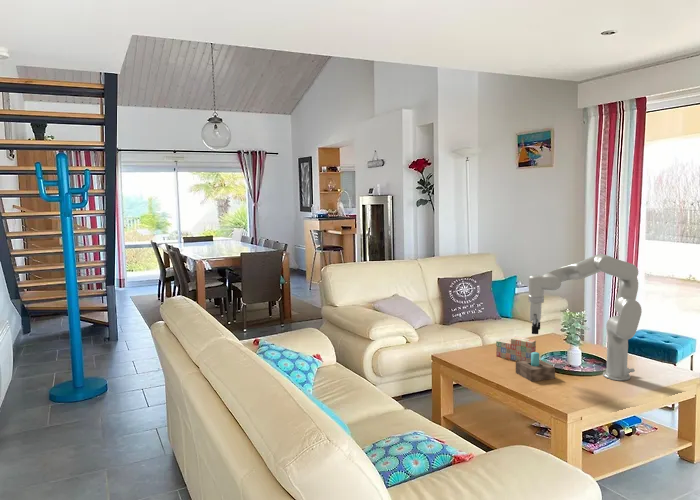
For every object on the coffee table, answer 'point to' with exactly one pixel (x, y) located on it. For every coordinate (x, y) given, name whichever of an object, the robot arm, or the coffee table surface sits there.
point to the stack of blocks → (516, 348)
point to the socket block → (535, 370)
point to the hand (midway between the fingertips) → (536, 331)
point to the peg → (534, 359)
